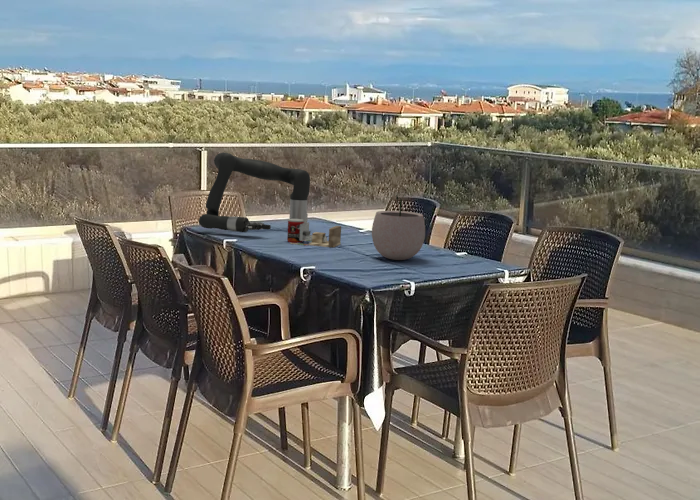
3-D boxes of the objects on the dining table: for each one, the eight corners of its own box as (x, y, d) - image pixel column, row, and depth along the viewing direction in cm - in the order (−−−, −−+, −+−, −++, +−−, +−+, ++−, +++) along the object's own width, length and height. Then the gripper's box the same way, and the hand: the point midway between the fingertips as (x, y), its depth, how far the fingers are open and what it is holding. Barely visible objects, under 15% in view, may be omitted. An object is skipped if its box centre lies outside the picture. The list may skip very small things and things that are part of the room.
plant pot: (415, 255, 382) (420, 191, 377) (429, 264, 358) (434, 196, 354) (365, 254, 377) (369, 189, 373) (376, 263, 354) (380, 194, 349)
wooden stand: (289, 243, 395) (290, 225, 394) (300, 239, 409) (300, 222, 408) (332, 248, 389) (333, 229, 388) (341, 243, 404) (342, 225, 402)
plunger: (299, 240, 397) (300, 224, 395) (305, 238, 405) (306, 222, 404) (323, 243, 393) (324, 226, 392) (329, 240, 402) (329, 224, 401)
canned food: (284, 242, 400) (285, 219, 398) (290, 240, 407) (291, 218, 405) (299, 243, 398) (300, 221, 396) (305, 241, 405) (306, 219, 403)
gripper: (232, 218, 403) (265, 221, 398) (243, 215, 415) (275, 218, 411) (232, 233, 404) (264, 236, 399) (242, 230, 416) (274, 233, 412)
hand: (270, 227), depth 405 cm, fingers closed
